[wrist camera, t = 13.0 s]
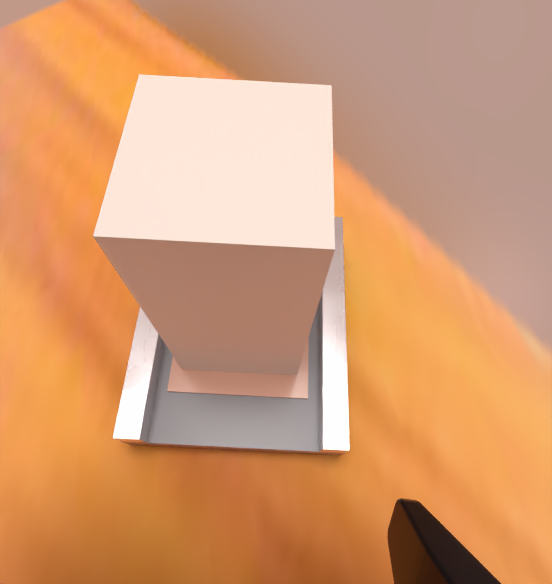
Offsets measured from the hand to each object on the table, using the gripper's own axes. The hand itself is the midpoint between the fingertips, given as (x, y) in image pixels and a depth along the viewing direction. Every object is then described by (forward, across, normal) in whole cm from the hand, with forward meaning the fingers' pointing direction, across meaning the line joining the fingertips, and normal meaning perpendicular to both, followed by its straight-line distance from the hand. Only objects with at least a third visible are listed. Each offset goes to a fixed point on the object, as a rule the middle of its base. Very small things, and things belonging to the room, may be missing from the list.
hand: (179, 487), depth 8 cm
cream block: (+14, 0, +2) cm, 15 cm away
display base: (+16, 0, +3) cm, 16 cm away
